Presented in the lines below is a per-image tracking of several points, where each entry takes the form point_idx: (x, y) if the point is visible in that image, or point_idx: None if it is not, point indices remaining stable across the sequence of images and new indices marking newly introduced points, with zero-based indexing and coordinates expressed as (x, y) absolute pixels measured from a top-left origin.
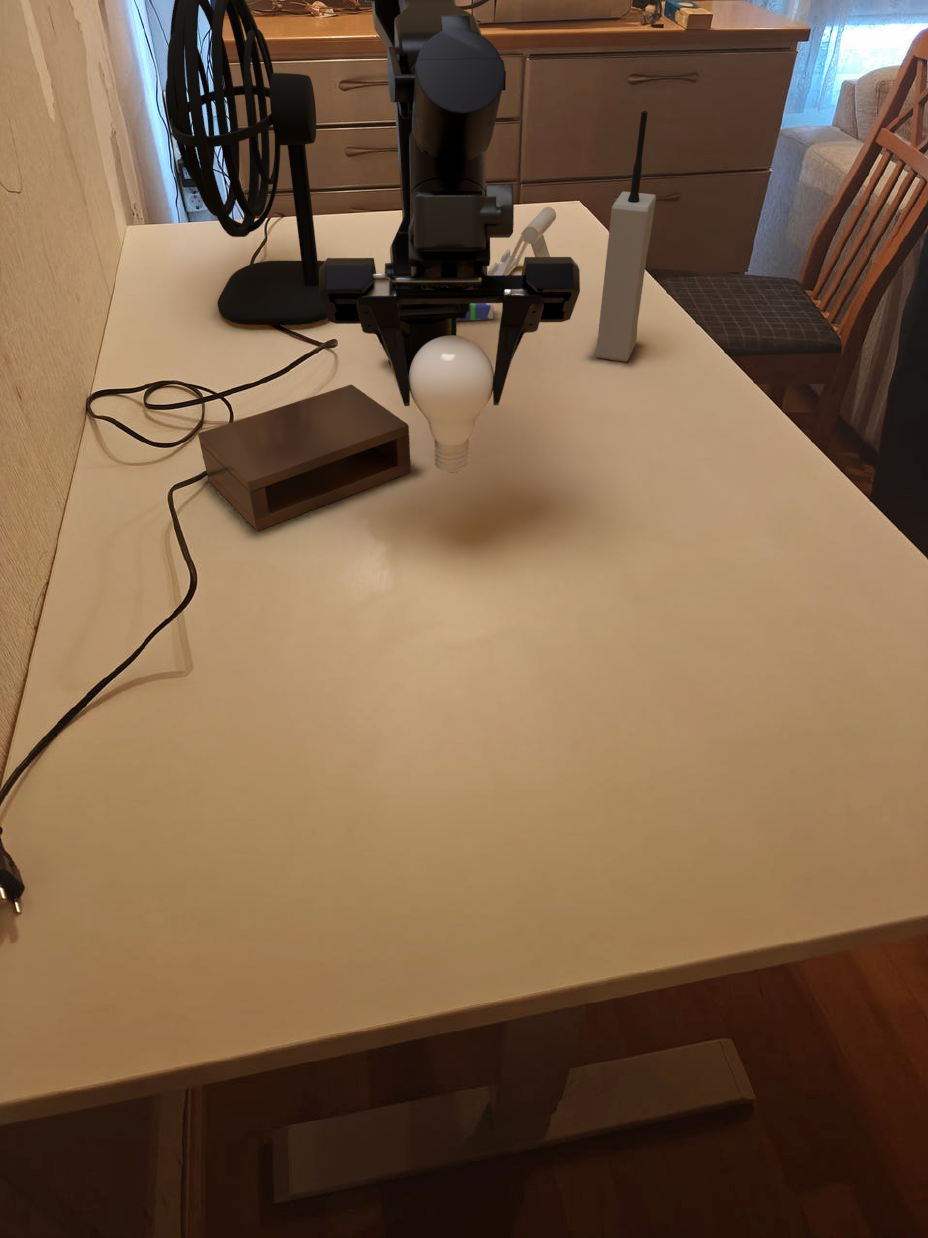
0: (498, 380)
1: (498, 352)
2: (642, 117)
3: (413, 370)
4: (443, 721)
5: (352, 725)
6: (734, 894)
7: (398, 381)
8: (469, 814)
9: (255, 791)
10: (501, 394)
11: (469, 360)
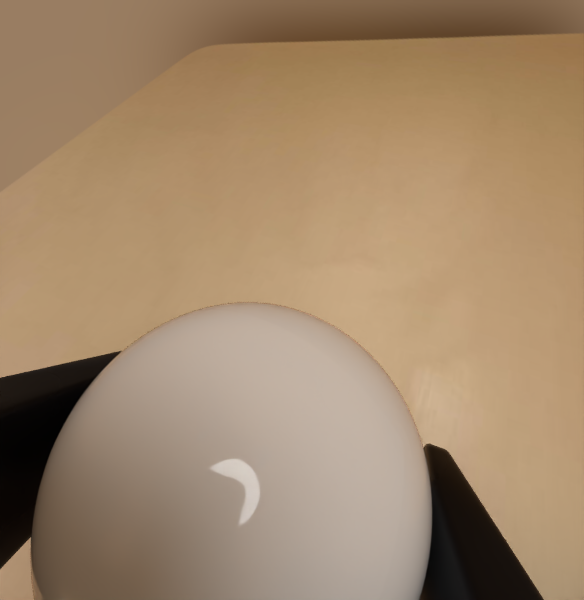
0: None
1: (8, 409)
2: None
3: (426, 487)
4: (403, 185)
5: (485, 198)
6: (276, 60)
7: (485, 512)
8: (405, 117)
9: (574, 159)
10: None
11: (177, 331)
